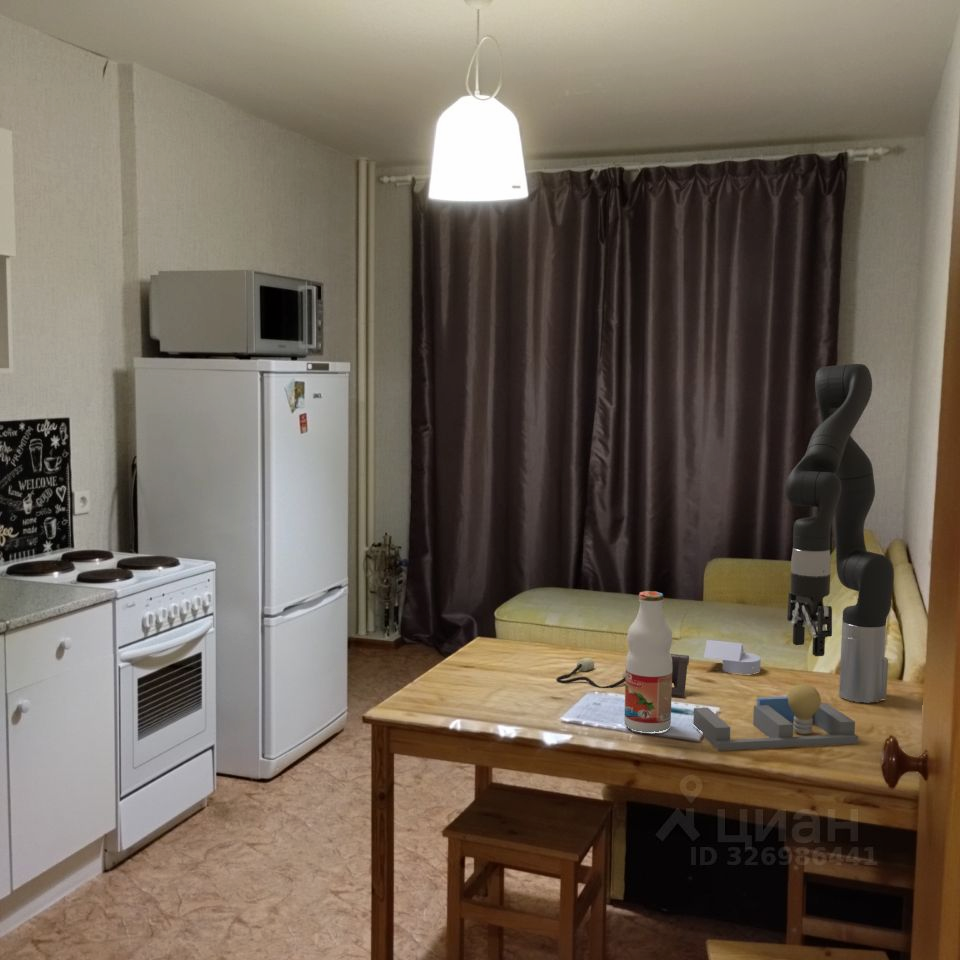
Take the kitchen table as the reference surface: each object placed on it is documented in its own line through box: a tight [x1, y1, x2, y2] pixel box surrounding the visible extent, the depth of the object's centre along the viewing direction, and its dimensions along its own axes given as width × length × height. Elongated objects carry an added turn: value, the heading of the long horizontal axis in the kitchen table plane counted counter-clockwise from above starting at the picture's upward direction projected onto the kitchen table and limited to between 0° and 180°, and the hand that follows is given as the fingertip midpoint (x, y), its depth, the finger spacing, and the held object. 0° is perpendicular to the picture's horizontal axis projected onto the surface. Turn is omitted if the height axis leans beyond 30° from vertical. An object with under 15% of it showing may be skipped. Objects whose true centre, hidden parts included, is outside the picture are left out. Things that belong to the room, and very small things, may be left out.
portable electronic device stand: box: [670, 653, 690, 698], centre depth 239 cm, size 9×8×8 cm
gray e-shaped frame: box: [692, 696, 859, 752], centre depth 212 cm, size 29×15×5 cm, turn 99°
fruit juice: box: [624, 590, 673, 732], centre depth 214 cm, size 9×9×28 cm
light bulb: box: [787, 683, 822, 735], centre depth 213 cm, size 6×6×10 cm
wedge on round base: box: [703, 639, 762, 674], centre depth 258 cm, size 9×7×13 cm
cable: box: [555, 657, 626, 689], centre depth 248 cm, size 16×16×4 cm
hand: (808, 650), depth 211 cm, fingers open, 8 cm apart
